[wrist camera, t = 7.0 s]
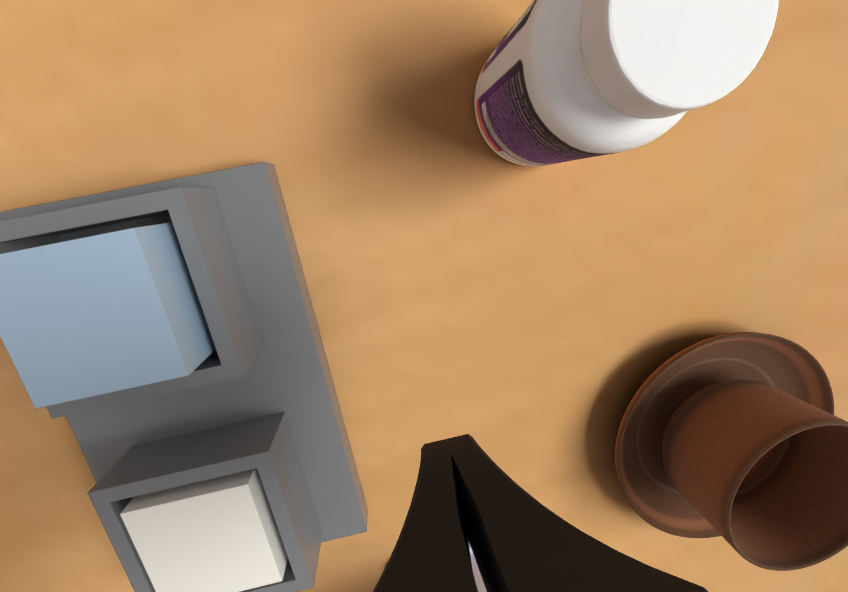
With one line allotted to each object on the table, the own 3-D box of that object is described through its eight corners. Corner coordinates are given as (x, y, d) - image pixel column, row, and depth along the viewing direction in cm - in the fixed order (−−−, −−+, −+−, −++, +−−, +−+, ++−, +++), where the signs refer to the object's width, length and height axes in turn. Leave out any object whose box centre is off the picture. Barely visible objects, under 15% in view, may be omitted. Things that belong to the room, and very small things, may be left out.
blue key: (222, 342, 16) (188, 375, 13) (97, 369, 16) (35, 408, 13) (180, 221, 15) (133, 228, 12) (44, 247, 15) (-37, 261, 12)
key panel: (367, 509, 22) (365, 585, 18) (160, 559, 22) (106, 650, 17) (273, 164, 18) (239, 155, 13) (6, 215, 17) (-120, 223, 13)
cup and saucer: (804, 301, 22) (958, 340, 16) (794, 486, 25) (920, 576, 19) (590, 348, 22) (671, 407, 16) (606, 532, 25) (679, 640, 19)
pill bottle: (579, 172, 19) (772, 155, 10) (465, 160, 19) (554, 129, 9) (601, 42, 18) (846, -121, 9) (479, 24, 17) (601, -175, 8)
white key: (296, 524, 20) (282, 581, 17) (195, 548, 20) (164, 610, 17) (267, 439, 19) (247, 484, 16) (160, 463, 19) (119, 514, 16)
